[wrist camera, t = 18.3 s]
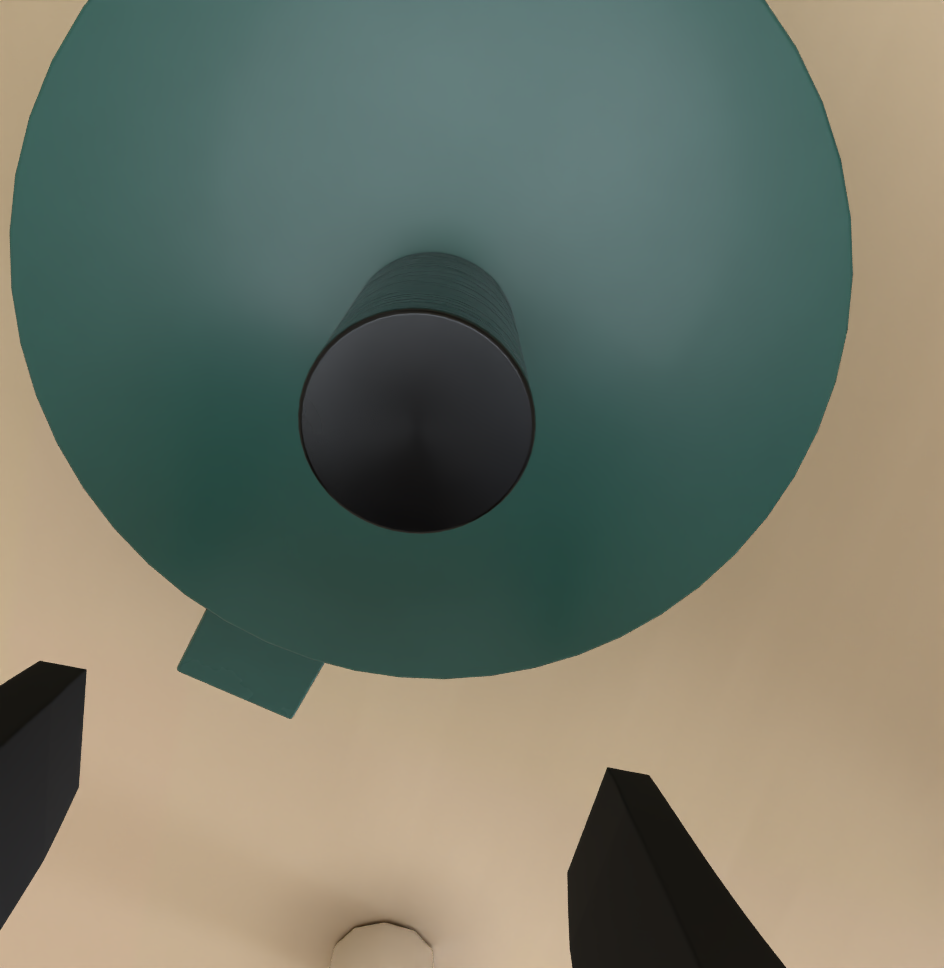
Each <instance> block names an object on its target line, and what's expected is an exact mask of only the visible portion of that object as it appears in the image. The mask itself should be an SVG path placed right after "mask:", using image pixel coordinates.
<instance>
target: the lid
mask: <svg viewBox="0 0 944 968" xmlns="http://www.w3.org/2000/svg"><path fill="white" fill-rule="evenodd" d="M10 258H11V288H12V295H13V301H14V307H15V313H16V319H17V325H18V331H19V337H20V343H21V347H22V350H23V353H24V357H25V360H26V363H27V367H28V370H29V373H30V377H31V380H32V383H33V387H34V390H35V393H36V396H37V399H38V401H39V403H40V405H41V408H42V410H43V412H44V415H45V417H46V419H47V421H48V424H49V426H50V428H51V431H52V433H53V435H54V437H55V440H56V442H57V444H58V446H59V447H60V449H61V451H62V453H63V454H64V456H65V458H66V459H67V461H68V463H69V464H70V466H71V468H72V470H73V471H74V473H75V475H76V476H77V478H78V480H79V481H80V483H81V485H82V486H83V488H84V489H85V491H86V492H87V493H88V495H89V496H90V497H91V499H92V500H93V501H94V503H95V504H96V505H97V507H98V508H99V509H100V510H101V512H102V513H103V514H104V516H105V517H106V518H107V520H108V521H109V522H110V524H111V525H112V526H113V528H114V529H115V530H116V531H117V532H118V533H119V534H120V535H121V536H122V537H123V538H124V539H125V540H126V541H127V542H128V543H129V544H130V545H131V546H132V548H133V549H134V550H135V551H136V552H137V553H138V554H139V555H140V556H141V557H142V558H143V559H144V560H145V561H146V562H147V563H148V564H149V565H150V566H151V567H153V568H154V569H155V570H156V571H157V572H159V573H160V574H161V575H162V576H163V577H165V578H166V579H167V580H168V581H169V582H171V583H172V584H173V585H174V586H175V587H177V588H178V589H179V590H180V591H181V592H183V593H184V594H185V595H186V596H188V597H189V598H191V599H193V600H194V601H196V602H197V603H199V604H200V605H202V606H203V607H205V608H206V609H208V610H209V611H211V612H212V613H214V614H215V615H217V616H218V617H220V618H221V619H223V620H224V621H226V622H228V623H230V624H232V625H234V626H236V627H238V628H240V629H242V630H244V631H246V632H248V633H250V634H251V635H253V636H255V637H257V638H259V639H261V640H263V641H265V642H267V643H270V644H272V645H275V646H278V647H280V648H283V649H286V650H288V651H291V652H293V653H296V654H299V655H301V656H304V657H307V658H309V659H312V660H316V661H320V662H324V663H328V664H332V665H335V666H339V667H343V668H347V669H351V670H355V671H361V672H368V673H375V674H381V675H388V676H395V677H406V678H432V679H453V678H467V677H482V676H492V675H498V674H504V673H509V672H515V671H520V670H526V669H531V668H536V667H540V666H543V665H546V664H550V663H553V662H556V661H560V660H563V659H566V658H570V657H573V656H577V655H580V654H582V653H584V652H587V651H589V650H591V649H594V648H596V647H599V646H601V645H603V644H606V643H608V642H610V641H613V640H615V639H618V638H620V637H622V636H624V635H625V634H627V633H629V632H631V631H633V630H634V629H636V628H638V627H640V626H642V625H643V624H645V623H647V622H649V621H650V620H652V619H654V618H656V617H658V616H659V615H661V614H663V613H664V612H665V611H667V610H668V609H669V608H671V607H672V606H674V605H675V604H676V603H678V602H679V601H681V600H682V599H683V598H685V597H686V596H688V595H689V594H690V593H692V592H693V591H694V590H696V589H697V588H699V587H700V586H701V585H702V584H703V583H704V582H705V581H706V580H708V579H709V578H710V577H711V576H712V575H713V574H714V573H715V572H716V571H717V570H718V569H720V568H721V567H722V566H723V565H724V564H725V563H726V562H727V561H728V560H729V559H731V558H732V557H733V556H734V555H735V554H736V553H737V551H738V550H739V549H740V548H741V547H742V546H743V545H744V543H745V542H746V541H747V540H748V539H749V538H750V536H751V535H752V534H753V533H754V532H755V531H756V530H757V528H758V527H759V526H760V525H761V524H762V523H763V521H764V520H765V519H766V518H767V516H768V515H769V514H770V512H771V511H772V509H773V508H774V506H775V505H776V503H777V502H778V500H779V499H780V497H781V496H782V494H783V493H784V491H785V490H786V488H787V487H788V485H789V484H790V482H791V481H792V480H793V478H794V477H795V475H796V473H797V471H798V469H799V467H800V465H801V463H802V461H803V459H804V457H805V455H806V453H807V451H808V449H809V447H810V445H811V443H812V441H813V439H814V437H815V435H816V434H817V432H818V429H819V426H820V424H821V421H822V418H823V415H824V413H825V410H826V407H827V404H828V402H829V399H830V396H831V393H832V391H833V388H834V385H835V382H836V378H837V374H838V369H839V365H840V361H841V356H842V352H843V347H844V343H845V339H846V334H847V330H848V319H849V309H850V298H851V288H852V277H853V266H852V239H851V216H850V210H849V204H848V198H847V192H846V187H845V181H844V175H843V169H842V163H841V158H840V155H839V152H838V149H837V146H836V143H835V139H834V136H833V133H832V130H831V127H830V124H829V121H828V117H827V114H826V111H825V108H824V105H823V102H822V100H821V98H820V96H819V93H818V91H817V89H816V87H815V85H814V83H813V81H812V79H811V77H810V75H809V73H808V71H807V68H806V66H805V64H804V62H803V60H802V58H801V56H800V54H799V52H798V50H797V48H796V46H795V44H794V43H793V41H792V40H791V38H790V37H789V35H788V34H787V32H786V31H785V29H784V28H783V26H782V25H781V23H780V22H779V20H778V19H777V17H776V16H775V14H774V13H773V11H772V10H771V8H770V7H769V5H768V4H767V2H766V1H765V0H88V2H87V3H86V4H85V5H84V6H83V8H82V10H81V12H80V13H79V15H78V17H77V18H76V20H75V22H74V24H73V25H72V27H71V29H70V30H69V32H68V34H67V36H66V37H65V39H64V41H63V42H62V44H61V46H60V48H59V49H58V51H57V53H56V54H55V56H54V58H53V60H52V62H51V64H50V67H49V69H48V72H47V74H46V77H45V79H44V82H43V84H42V87H41V89H40V92H39V94H38V97H37V99H36V102H35V104H34V107H33V109H32V112H31V114H30V117H29V121H28V125H27V129H26V133H25V137H24V141H23V145H22V150H21V154H20V158H19V162H18V166H17V170H16V174H15V184H14V194H13V204H12V214H11V223H10Z"/></svg>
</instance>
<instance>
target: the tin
mask: <svg viewBox="0 0 944 968" xmlns="http://www.w3.org/2000/svg"><path fill="white" fill-rule="evenodd" d="M323 665H324V662H320V661H316V660H312V659H309V658H307V657H304V656H301V655H299V654H296V653H293V652H291V651H288V650H286V649H283V648H280V647H278V646H275V645H272V644H270V643H267V642H265V641H263V640H261V639H259V638H257V637H255V636H253V635H251V634H250V633H248V632H246V631H244V630H242V629H240V628H238V627H236V626H234V625H232V624H230V623H228V622H226V621H224V620H223V619H221V618H220V617H218V616H217V615H215V614H214V613H212V612H211V611H209V610H208V609H206V611H205V613H204V615H203V617H202V619H201V621H200V623H199V625H198V627H197V629H196V631H195V633H194V635H193V637H192V639H191V641H190V643H189V645H188V647H187V649H186V651H185V653H184V655H183V657H182V659H181V661H180V663H179V665H178V667H177V670H178V671H179V672H181V673H184V674H186V675H188V676H191V677H193V678H195V679H198V680H200V681H202V682H205V683H207V684H209V685H212V686H214V687H216V688H219V689H221V690H223V691H226V692H228V693H230V694H233V695H235V696H237V697H240V698H242V699H244V700H247V701H249V702H251V703H254V704H256V705H258V706H261V707H263V708H265V709H268V710H270V711H272V712H275V713H277V714H279V715H282V716H284V717H286V718H289V719H291V718H292V717H293V716H294V715H295V713H296V711H297V710H298V708H299V706H300V704H301V703H302V701H303V699H304V698H305V696H306V694H307V692H308V691H309V689H310V687H311V685H312V684H313V682H314V680H315V679H316V677H317V675H318V673H319V672H320V670H321V668H322V667H323Z"/></svg>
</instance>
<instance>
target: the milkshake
mask: <svg viewBox="0 0 944 968" xmlns="http://www.w3.org/2000/svg"><path fill="white" fill-rule="evenodd" d="M329 968H433V951H432V949H431V948H430V947H429V946H428V945H427V944H426V943H425V941H424V940H423V939H422V938H421V937H420V936H419V935H418V934H417V933H416V932H415V931H414V930H411V929H407V928H403V927H400V926H396V925H393V924H389V923H386V922H384V923H378V924H373V925H367V926H362V927H356V928H354V929H353V930H352V931H350V932H349V933H348V934H347V935H346V936H345V937H344V938H343V939H342V940H341V941H339V942H338V943H337V944H336V945H335V947H334V951H333V954H332V958H331V962H330V966H329Z"/></svg>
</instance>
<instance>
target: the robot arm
mask: <svg viewBox="0 0 944 968" xmlns="http://www.w3.org/2000/svg"><path fill="white" fill-rule="evenodd" d="M85 685H86V669H81V668H75V667H70V666H65V665H59V664H54V663H49V662H43V661H39V662H37V663H35V664H34V665H32V666H31V667H29V668H27V669H26V670H24V671H22V672H21V673H19V674H18V675H16V676H14V677H13V678H11V679H10V680H8V681H7V682H5V683H4V684H2V685H0V930H1V928H2V927H3V925H4V923H5V922H6V920H7V919H8V917H9V915H10V914H11V912H12V911H13V909H14V907H15V906H16V904H17V903H18V901H19V899H20V898H21V896H22V895H23V893H24V891H25V890H26V888H27V887H28V885H29V883H30V882H31V880H32V879H33V877H34V875H35V874H36V872H37V870H38V869H39V867H40V866H41V864H42V862H43V861H44V859H45V857H46V855H47V853H48V851H49V849H50V847H51V845H52V843H53V840H54V838H55V836H56V834H57V832H58V830H59V828H60V826H61V824H62V822H63V820H64V818H65V816H66V813H67V811H68V809H69V807H70V805H71V803H72V801H73V798H74V796H75V794H76V792H77V790H78V788H79V776H80V761H81V746H82V731H83V715H84V700H85ZM567 877H568V918H569V941H570V953H571V960H572V967H573V968H786V967H785V966H784V964H783V963H782V962H781V960H780V959H779V958H778V957H777V955H776V954H775V953H774V952H773V950H772V949H771V948H770V947H769V945H768V944H767V943H766V941H765V940H764V939H763V938H762V936H761V935H760V934H759V932H758V931H757V930H756V928H755V927H754V926H753V924H752V923H751V922H750V920H749V919H748V918H747V916H746V915H745V914H744V912H743V911H742V910H741V908H740V907H739V905H738V904H737V903H736V901H735V900H734V899H733V897H732V896H731V894H730V893H729V892H728V890H727V889H726V887H725V886H724V885H723V883H722V882H721V880H720V879H719V878H718V876H717V875H716V873H715V872H714V870H713V869H712V867H711V866H710V865H709V863H708V862H707V860H706V859H705V857H704V856H703V854H702V853H701V851H700V850H699V848H698V847H697V846H696V844H695V843H694V841H693V840H692V838H691V837H690V835H689V834H688V832H687V831H686V829H685V828H684V826H683V825H682V823H681V822H680V820H679V819H678V817H677V816H676V814H675V813H674V811H673V810H672V808H671V807H670V805H669V804H668V802H667V801H666V799H665V798H664V796H663V795H662V793H661V792H660V790H659V789H658V787H657V786H656V784H655V783H654V782H653V780H652V779H651V777H650V776H649V775H645V774H640V773H635V772H629V771H624V770H619V769H613V768H608V767H607V770H606V773H605V775H604V778H603V780H602V783H601V786H600V788H599V791H598V794H597V796H596V799H595V801H594V804H593V807H592V809H591V812H590V815H589V817H588V820H587V822H586V825H585V828H584V830H583V833H582V836H581V838H580V841H579V843H578V846H577V849H576V851H575V854H574V857H573V859H572V862H571V865H570V867H569V870H568V872H567Z"/></svg>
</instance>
